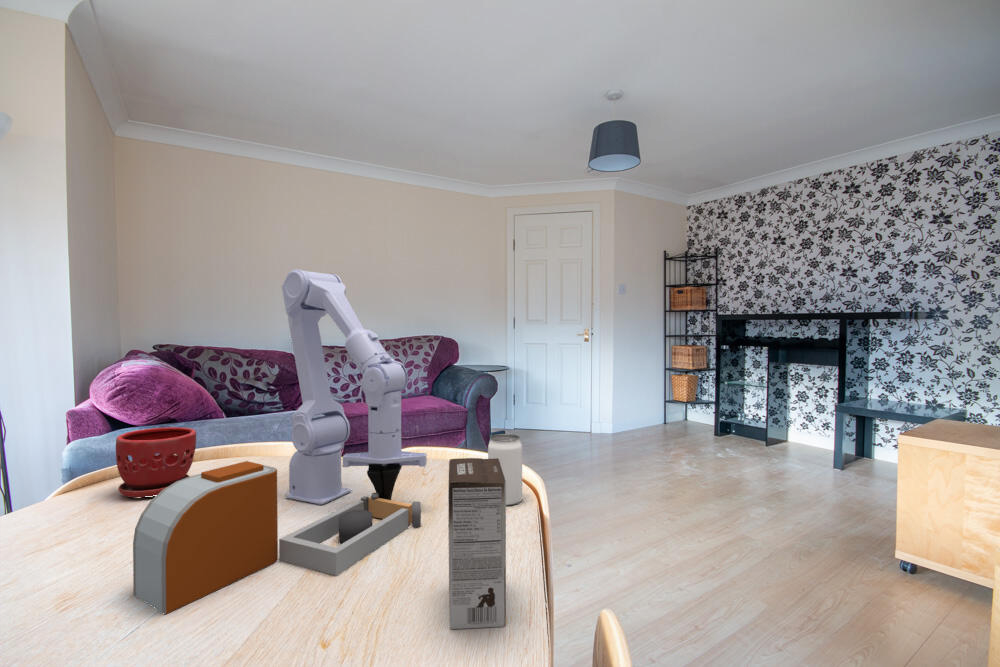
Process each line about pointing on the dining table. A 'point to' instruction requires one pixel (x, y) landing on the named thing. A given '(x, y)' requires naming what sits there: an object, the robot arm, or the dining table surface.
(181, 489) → the grey and orange block
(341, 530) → the dark grey cylinder
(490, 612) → the coffee box
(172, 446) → the plant pot
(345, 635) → the dining table surface
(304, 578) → the dining table surface
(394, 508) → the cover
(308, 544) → the grey frame
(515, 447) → the can
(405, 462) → the robot arm
